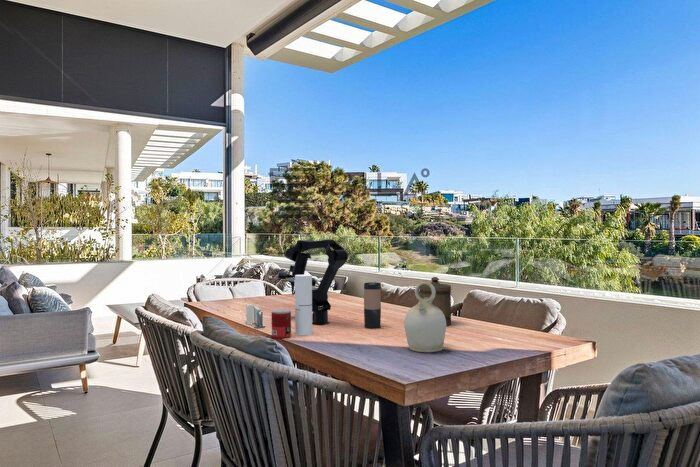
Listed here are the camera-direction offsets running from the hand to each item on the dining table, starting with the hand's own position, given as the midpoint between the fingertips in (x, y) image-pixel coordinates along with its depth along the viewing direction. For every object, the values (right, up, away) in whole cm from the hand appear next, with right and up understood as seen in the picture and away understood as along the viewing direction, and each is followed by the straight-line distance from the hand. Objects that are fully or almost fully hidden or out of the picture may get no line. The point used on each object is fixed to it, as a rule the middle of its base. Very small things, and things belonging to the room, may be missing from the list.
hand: (292, 294), depth 252 cm
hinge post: (-13, -12, -21) cm, 27 cm away
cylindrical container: (+9, -13, -36) cm, 39 cm away
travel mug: (+39, -12, -22) cm, 46 cm away
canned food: (0, -13, -41) cm, 43 cm away
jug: (+56, -12, -64) cm, 86 cm away
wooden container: (+68, -12, -14) cm, 71 cm away
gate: (-15, -12, -13) cm, 24 cm away
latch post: (-20, -12, -9) cm, 25 cm away
